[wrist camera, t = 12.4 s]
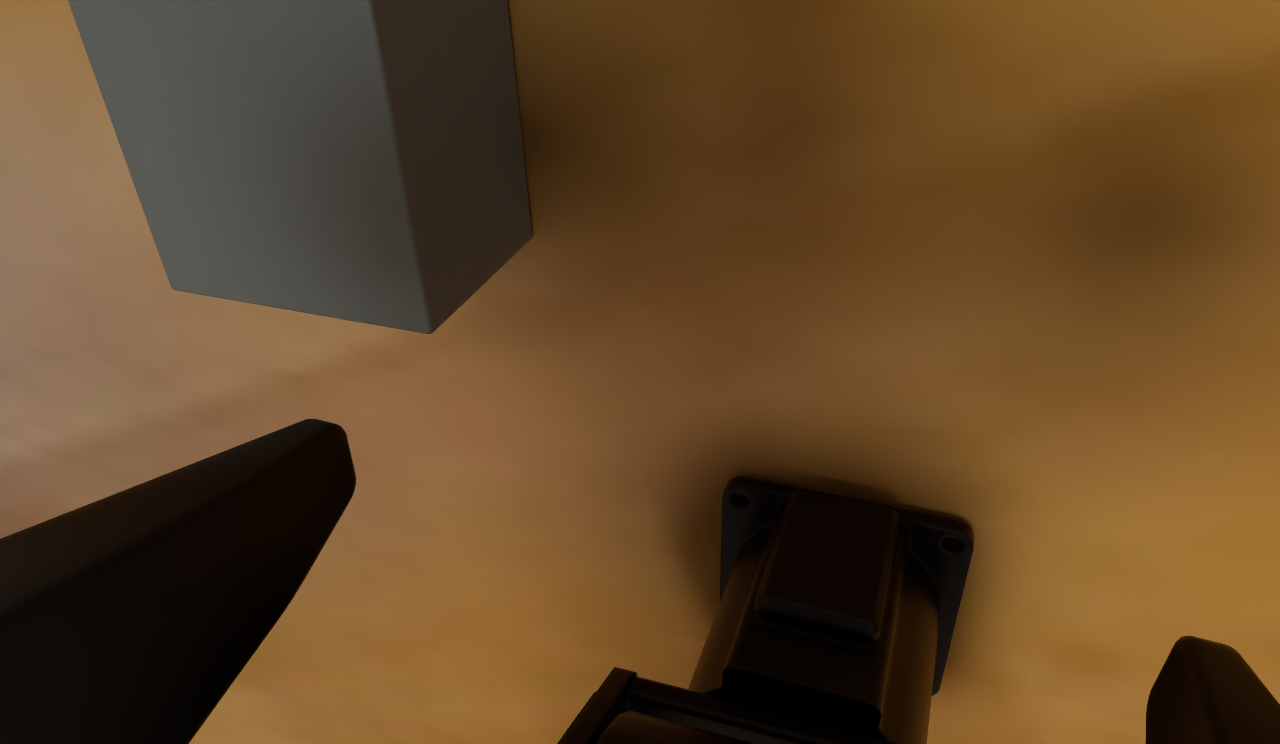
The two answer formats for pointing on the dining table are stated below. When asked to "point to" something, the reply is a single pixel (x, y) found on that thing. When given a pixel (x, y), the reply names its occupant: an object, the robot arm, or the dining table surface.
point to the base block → (319, 147)
